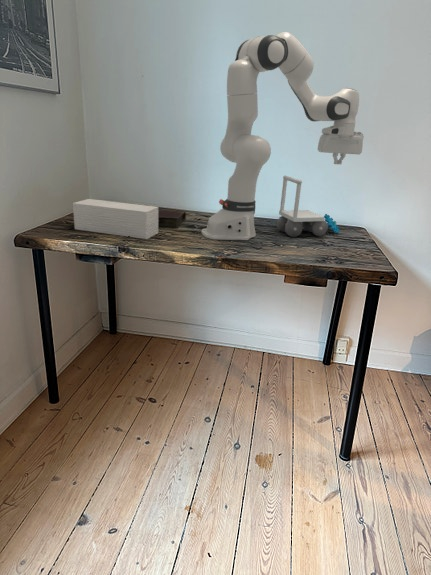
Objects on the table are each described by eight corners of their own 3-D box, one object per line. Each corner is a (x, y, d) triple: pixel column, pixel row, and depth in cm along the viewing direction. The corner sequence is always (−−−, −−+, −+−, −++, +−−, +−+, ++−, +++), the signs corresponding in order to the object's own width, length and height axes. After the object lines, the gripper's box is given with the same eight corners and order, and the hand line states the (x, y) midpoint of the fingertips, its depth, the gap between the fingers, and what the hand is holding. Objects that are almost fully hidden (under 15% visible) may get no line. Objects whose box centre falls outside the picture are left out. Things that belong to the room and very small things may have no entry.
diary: (133, 217, 194) (133, 206, 192) (185, 221, 192) (185, 210, 190) (120, 225, 176) (120, 214, 175) (177, 230, 174) (178, 218, 172)
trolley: (288, 238, 168) (295, 180, 159) (274, 230, 181) (279, 175, 172) (328, 237, 174) (337, 180, 165) (312, 228, 186) (320, 175, 177)
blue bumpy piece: (336, 232, 176) (323, 213, 177) (325, 240, 179) (312, 221, 180) (343, 231, 185) (331, 212, 186) (332, 238, 188) (320, 220, 190)
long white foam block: (158, 233, 167) (158, 206, 163) (146, 239, 158) (146, 211, 154) (89, 224, 176) (88, 198, 172) (74, 229, 166) (72, 203, 162)
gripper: (359, 132, 181) (353, 164, 186) (318, 128, 176) (313, 162, 181) (368, 132, 176) (362, 166, 181) (326, 129, 170) (320, 164, 175)
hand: (337, 164), depth 181 cm, fingers closed
